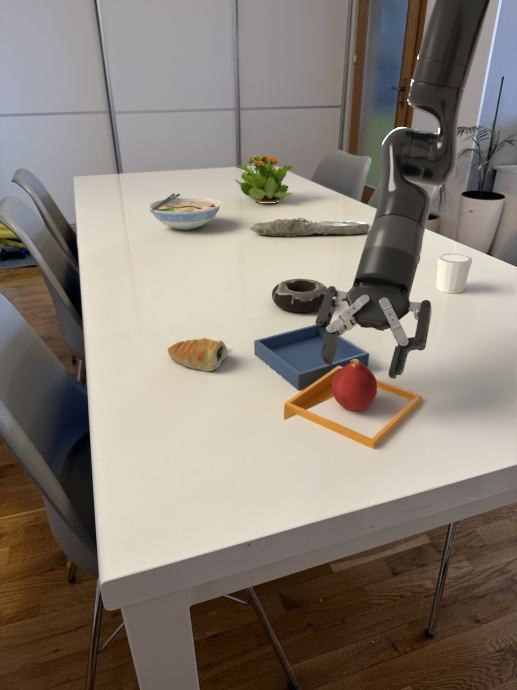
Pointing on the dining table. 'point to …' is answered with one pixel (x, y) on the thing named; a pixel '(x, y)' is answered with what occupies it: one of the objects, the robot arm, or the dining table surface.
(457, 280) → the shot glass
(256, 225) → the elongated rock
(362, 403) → the onion
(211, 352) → the pastry
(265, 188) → the potted flower
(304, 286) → the donut
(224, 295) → the dining table surface
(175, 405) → the dining table surface
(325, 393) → the amber tray
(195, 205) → the ramen bowl
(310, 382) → the blue tray
